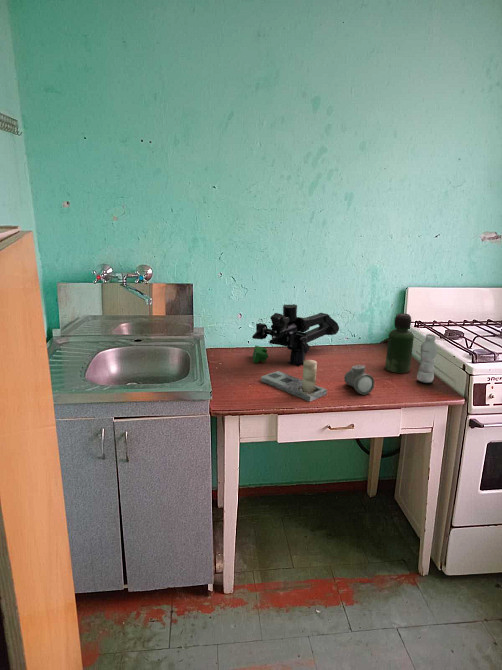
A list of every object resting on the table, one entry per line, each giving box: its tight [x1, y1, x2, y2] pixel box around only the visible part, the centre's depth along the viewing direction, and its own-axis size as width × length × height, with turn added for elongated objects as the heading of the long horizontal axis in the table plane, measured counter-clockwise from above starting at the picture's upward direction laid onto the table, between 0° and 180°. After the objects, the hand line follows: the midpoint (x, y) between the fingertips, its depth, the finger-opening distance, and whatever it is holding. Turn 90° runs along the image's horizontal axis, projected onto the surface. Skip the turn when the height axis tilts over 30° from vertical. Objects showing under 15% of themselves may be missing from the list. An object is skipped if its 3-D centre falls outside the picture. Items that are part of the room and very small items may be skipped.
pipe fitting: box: [343, 364, 375, 396], centre depth 187 cm, size 12×8×10 cm
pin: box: [302, 359, 318, 394], centre depth 181 cm, size 5×5×13 cm
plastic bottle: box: [416, 333, 438, 384], centre depth 194 cm, size 6×7×20 cm
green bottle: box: [384, 312, 415, 374], centre depth 206 cm, size 10×10×25 cm
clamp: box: [252, 345, 269, 364], centre depth 218 cm, size 11×6×8 cm, turn 177°
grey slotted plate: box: [260, 370, 328, 402], centre depth 188 cm, size 10×26×2 cm, turn 43°
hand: (261, 339), depth 192 cm, fingers open, 9 cm apart
